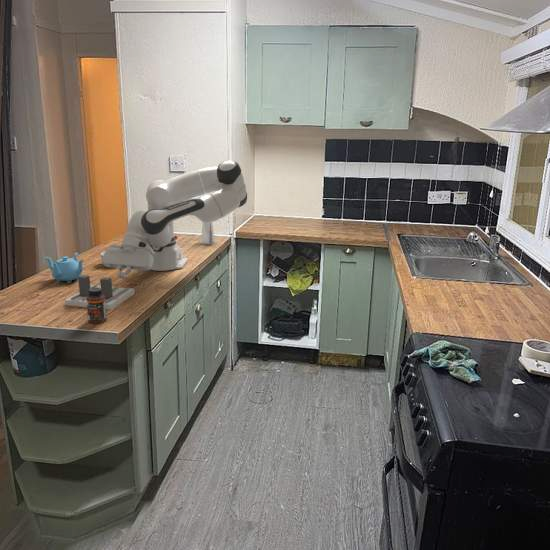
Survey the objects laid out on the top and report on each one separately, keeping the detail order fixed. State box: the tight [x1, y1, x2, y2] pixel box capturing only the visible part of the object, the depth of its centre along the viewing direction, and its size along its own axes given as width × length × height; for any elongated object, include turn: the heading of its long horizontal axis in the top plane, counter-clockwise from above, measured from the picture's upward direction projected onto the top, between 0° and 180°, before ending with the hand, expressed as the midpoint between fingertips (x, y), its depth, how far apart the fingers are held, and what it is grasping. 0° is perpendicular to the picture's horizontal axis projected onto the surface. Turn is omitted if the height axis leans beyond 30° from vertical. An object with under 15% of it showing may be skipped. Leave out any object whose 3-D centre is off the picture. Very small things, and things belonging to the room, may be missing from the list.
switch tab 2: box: [99, 276, 113, 299], centre depth 184 cm, size 2×3×8 cm
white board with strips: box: [64, 284, 136, 311], centre depth 189 cm, size 18×18×3 cm
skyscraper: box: [199, 194, 218, 246], centre depth 273 cm, size 8×8×28 cm
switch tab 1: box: [77, 274, 91, 297], centre depth 186 cm, size 2×3×8 cm
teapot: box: [44, 252, 85, 284], centre depth 209 cm, size 13×13×10 cm
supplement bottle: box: [86, 287, 107, 324], centre depth 168 cm, size 6×6×11 cm
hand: (121, 277), depth 194 cm, fingers closed
